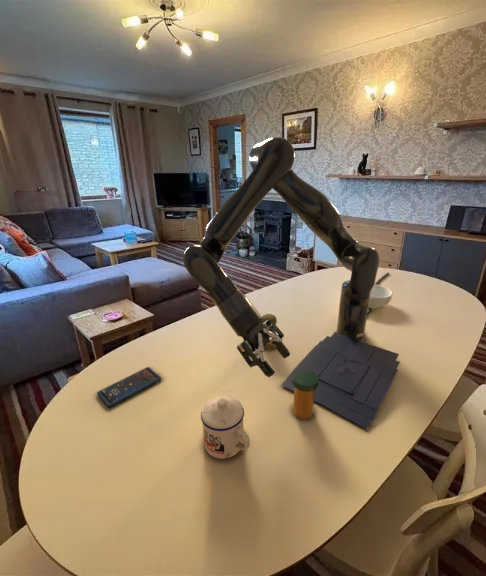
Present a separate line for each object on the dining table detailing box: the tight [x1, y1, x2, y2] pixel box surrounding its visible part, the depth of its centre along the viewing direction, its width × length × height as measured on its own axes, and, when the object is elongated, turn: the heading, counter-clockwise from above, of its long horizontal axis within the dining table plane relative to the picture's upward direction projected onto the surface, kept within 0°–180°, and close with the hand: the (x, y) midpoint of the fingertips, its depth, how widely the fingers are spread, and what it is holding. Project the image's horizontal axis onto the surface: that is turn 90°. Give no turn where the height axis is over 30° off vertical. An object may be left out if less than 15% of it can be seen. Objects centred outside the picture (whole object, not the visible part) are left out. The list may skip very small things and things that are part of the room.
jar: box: [292, 388, 315, 420], centre depth 74 cm, size 5×5×10 cm
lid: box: [292, 370, 318, 392], centre depth 73 cm, size 6×6×2 cm
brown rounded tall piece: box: [261, 313, 278, 351], centre depth 102 cm, size 6×6×11 cm
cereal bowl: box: [368, 283, 393, 310], centre depth 131 cm, size 17×17×7 cm
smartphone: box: [96, 366, 162, 408], centre depth 84 cm, size 8×1×15 cm
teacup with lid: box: [200, 395, 251, 460], centre depth 65 cm, size 12×9×12 cm
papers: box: [281, 331, 401, 429], centre depth 88 cm, size 24×30×4 cm
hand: (280, 365), depth 75 cm, fingers open, 8 cm apart
